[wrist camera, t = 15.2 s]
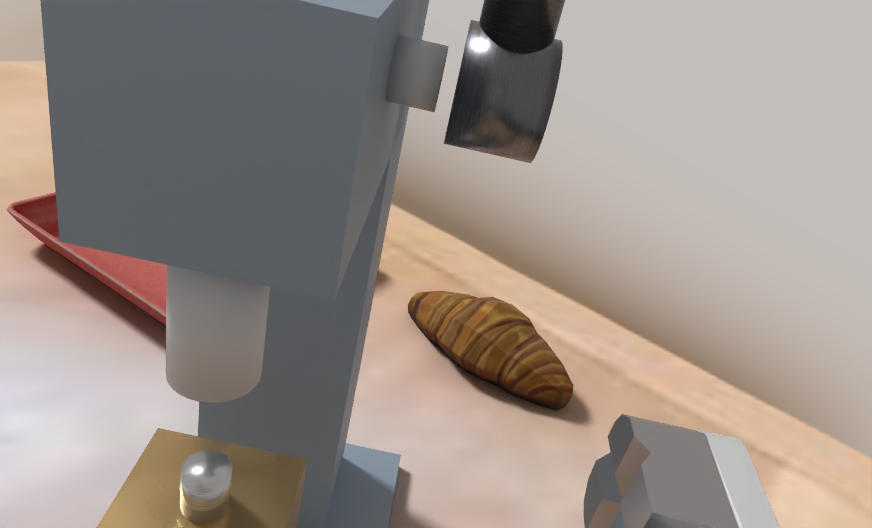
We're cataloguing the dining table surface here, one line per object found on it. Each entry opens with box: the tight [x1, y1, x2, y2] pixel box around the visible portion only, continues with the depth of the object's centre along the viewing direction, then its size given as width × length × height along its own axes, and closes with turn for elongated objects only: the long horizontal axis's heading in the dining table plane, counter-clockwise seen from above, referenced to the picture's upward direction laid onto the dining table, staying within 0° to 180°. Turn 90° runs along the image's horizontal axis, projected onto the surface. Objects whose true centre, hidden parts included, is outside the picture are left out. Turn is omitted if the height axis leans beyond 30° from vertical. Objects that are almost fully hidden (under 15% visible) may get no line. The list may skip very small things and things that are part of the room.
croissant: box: [408, 291, 573, 410], centre depth 47 cm, size 14×7×5 cm, turn 51°
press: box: [41, 0, 448, 528], centre depth 23 cm, size 19×10×26 cm, turn 176°
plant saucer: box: [7, 192, 167, 325], centre depth 51 cm, size 18×18×3 cm
